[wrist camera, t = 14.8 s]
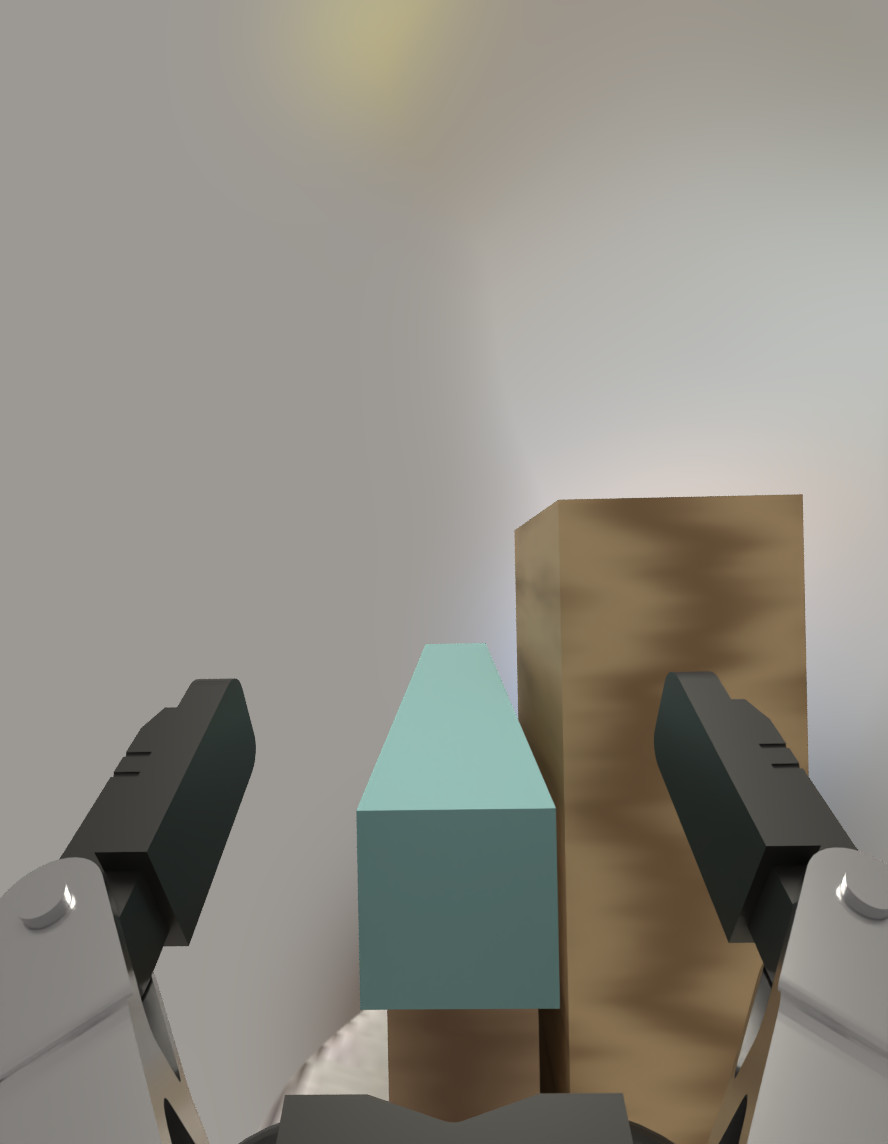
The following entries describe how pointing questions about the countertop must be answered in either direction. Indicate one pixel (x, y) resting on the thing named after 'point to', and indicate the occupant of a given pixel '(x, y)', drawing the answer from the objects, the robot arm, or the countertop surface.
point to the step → (462, 1060)
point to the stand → (648, 776)
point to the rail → (457, 850)
